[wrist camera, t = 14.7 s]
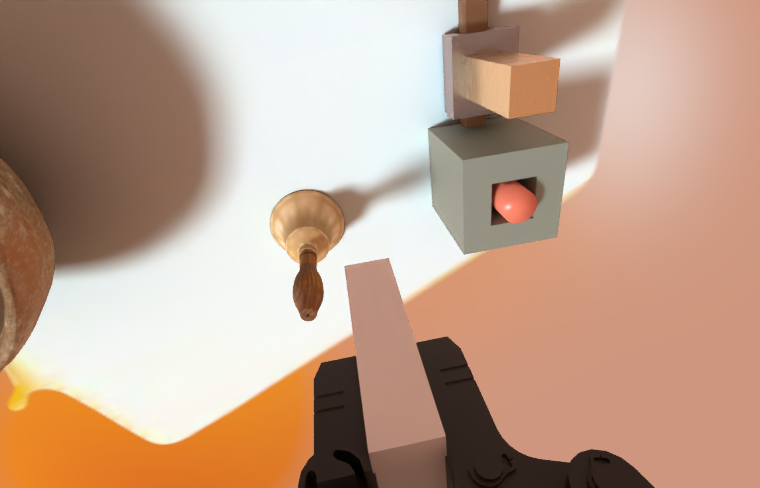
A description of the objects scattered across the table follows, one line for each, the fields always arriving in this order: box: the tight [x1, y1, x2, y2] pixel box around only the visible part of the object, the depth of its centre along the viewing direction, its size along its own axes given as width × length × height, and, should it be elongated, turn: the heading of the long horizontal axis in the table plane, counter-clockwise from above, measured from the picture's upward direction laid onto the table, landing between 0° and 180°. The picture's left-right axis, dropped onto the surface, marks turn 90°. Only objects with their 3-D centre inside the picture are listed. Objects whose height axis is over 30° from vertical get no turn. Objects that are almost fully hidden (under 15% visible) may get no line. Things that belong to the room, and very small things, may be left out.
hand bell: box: [270, 190, 344, 321], centre depth 37 cm, size 8×8×16 cm
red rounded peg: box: [491, 180, 537, 224], centre depth 36 cm, size 3×3×8 cm
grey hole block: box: [428, 117, 569, 255], centre depth 39 cm, size 9×9×11 cm
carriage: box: [442, 26, 560, 120], centre depth 33 cm, size 7×6×13 cm
